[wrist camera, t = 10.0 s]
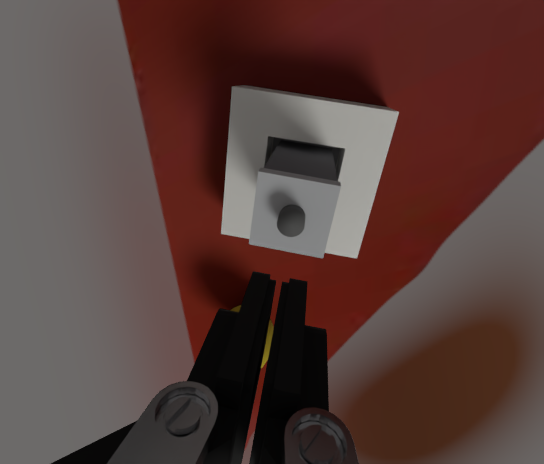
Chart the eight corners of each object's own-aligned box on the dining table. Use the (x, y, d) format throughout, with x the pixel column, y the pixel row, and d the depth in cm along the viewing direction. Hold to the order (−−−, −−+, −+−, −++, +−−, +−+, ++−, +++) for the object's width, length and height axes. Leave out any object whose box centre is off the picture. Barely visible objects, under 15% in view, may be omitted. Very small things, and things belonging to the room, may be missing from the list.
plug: (279, 138, 25) (254, 176, 16) (333, 147, 25) (342, 192, 15) (272, 189, 27) (245, 252, 17) (322, 198, 27) (323, 267, 17)
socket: (244, 85, 25) (231, 86, 22) (387, 107, 25) (399, 112, 21) (232, 215, 30) (221, 233, 27) (352, 236, 29) (356, 258, 26)
